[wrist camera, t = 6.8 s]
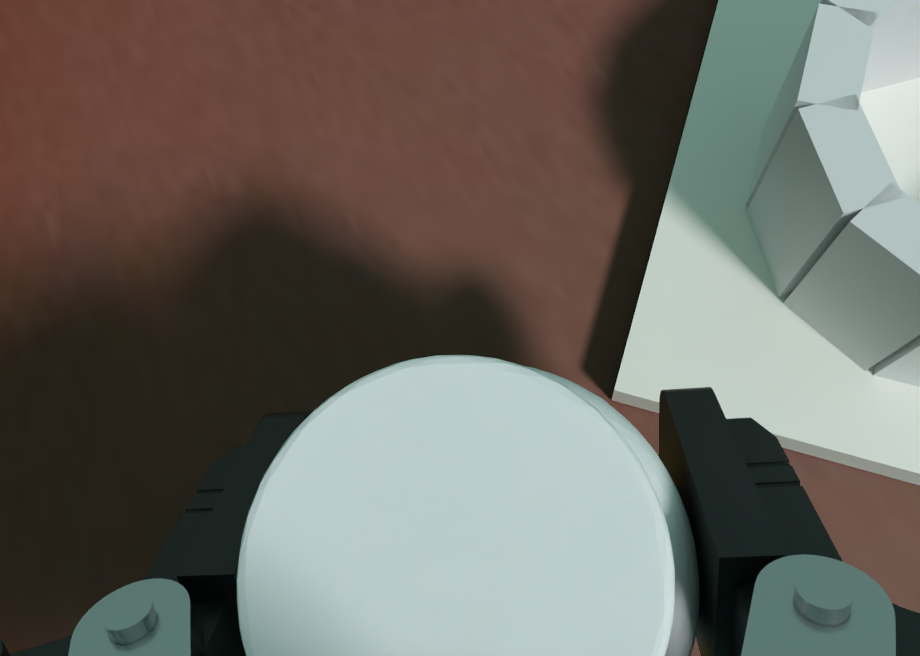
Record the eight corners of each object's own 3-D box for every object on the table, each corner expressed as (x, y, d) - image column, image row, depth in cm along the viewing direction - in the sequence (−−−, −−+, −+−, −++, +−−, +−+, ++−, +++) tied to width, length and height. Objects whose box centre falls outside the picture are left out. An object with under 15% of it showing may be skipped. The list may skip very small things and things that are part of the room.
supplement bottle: (420, 421, 17) (253, 244, 8) (661, 469, 16) (792, 329, 7) (361, 673, 15) (69, 818, 6) (622, 743, 14) (724, 1036, 5)
